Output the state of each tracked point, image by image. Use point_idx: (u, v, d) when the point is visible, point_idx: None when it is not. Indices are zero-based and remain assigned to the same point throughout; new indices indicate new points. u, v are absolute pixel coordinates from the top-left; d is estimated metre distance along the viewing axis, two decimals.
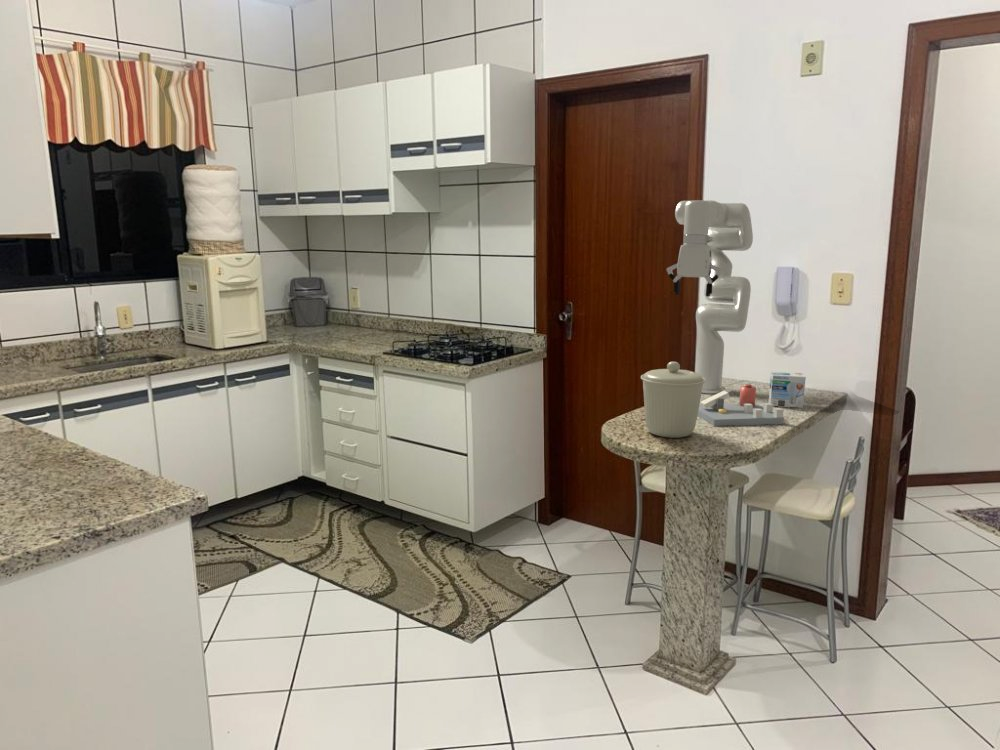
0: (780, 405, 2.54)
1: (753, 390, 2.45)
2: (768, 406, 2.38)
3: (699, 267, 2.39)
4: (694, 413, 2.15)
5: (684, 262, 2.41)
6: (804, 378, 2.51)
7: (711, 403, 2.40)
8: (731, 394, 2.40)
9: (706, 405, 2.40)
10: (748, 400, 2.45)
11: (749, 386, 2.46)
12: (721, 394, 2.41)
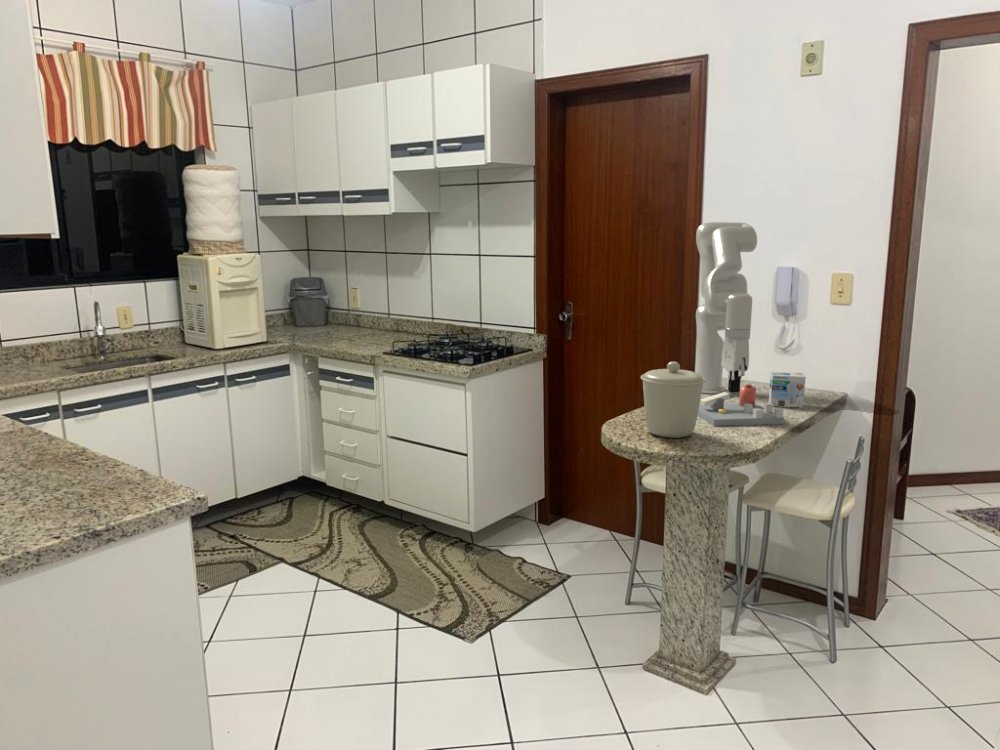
0: (780, 405, 2.54)
1: (753, 390, 2.45)
2: (768, 406, 2.38)
3: None
4: (694, 413, 2.15)
5: None
6: (804, 378, 2.51)
7: (711, 402, 2.40)
8: (731, 396, 2.41)
9: (705, 403, 2.40)
10: (748, 400, 2.45)
11: (749, 386, 2.46)
12: (722, 395, 2.41)
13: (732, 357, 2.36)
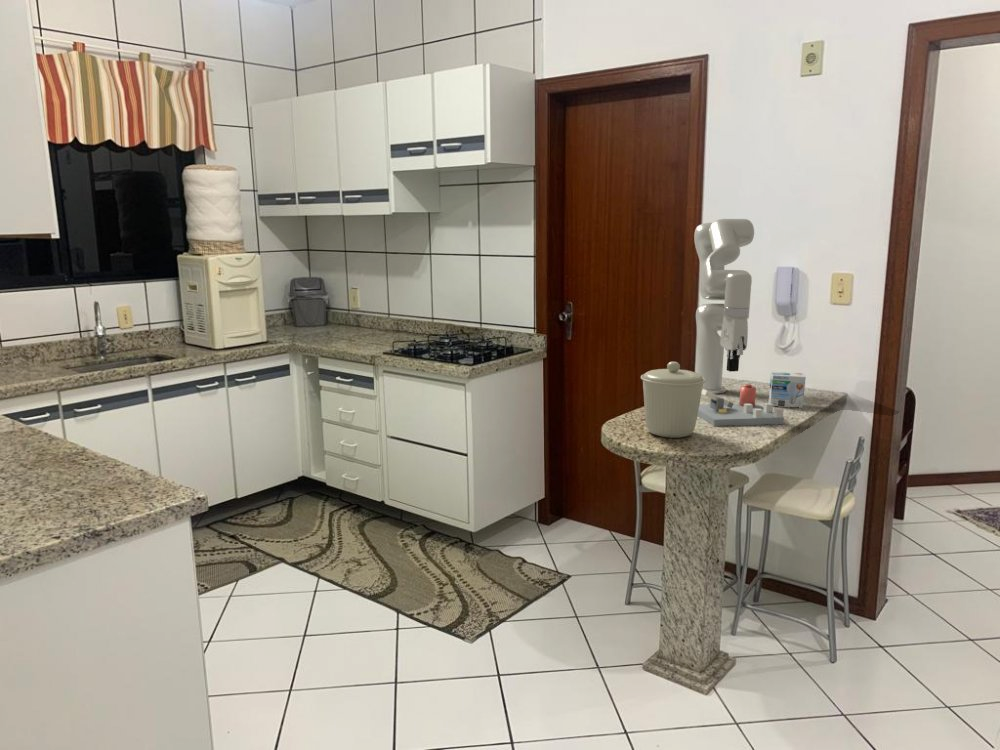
0: (780, 405, 2.54)
1: (753, 390, 2.45)
2: (768, 406, 2.38)
3: None
4: (694, 413, 2.15)
5: None
6: (804, 378, 2.51)
7: (711, 396, 2.40)
8: (730, 405, 2.41)
9: (707, 393, 2.39)
10: (748, 400, 2.45)
11: (749, 386, 2.46)
12: None
13: (730, 336, 2.35)
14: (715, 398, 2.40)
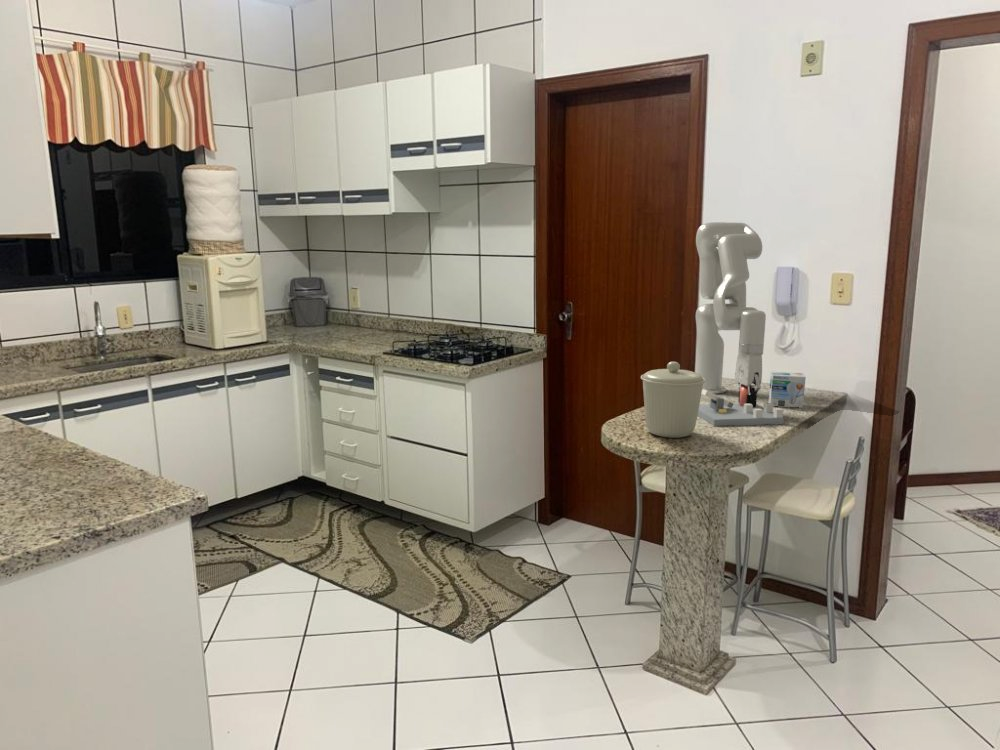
0: (780, 405, 2.54)
1: None
2: (768, 406, 2.38)
3: None
4: (694, 413, 2.15)
5: None
6: (804, 378, 2.51)
7: (712, 396, 2.40)
8: (730, 405, 2.41)
9: (707, 393, 2.39)
10: None
11: None
12: None
13: (745, 372, 2.42)
14: (715, 398, 2.40)
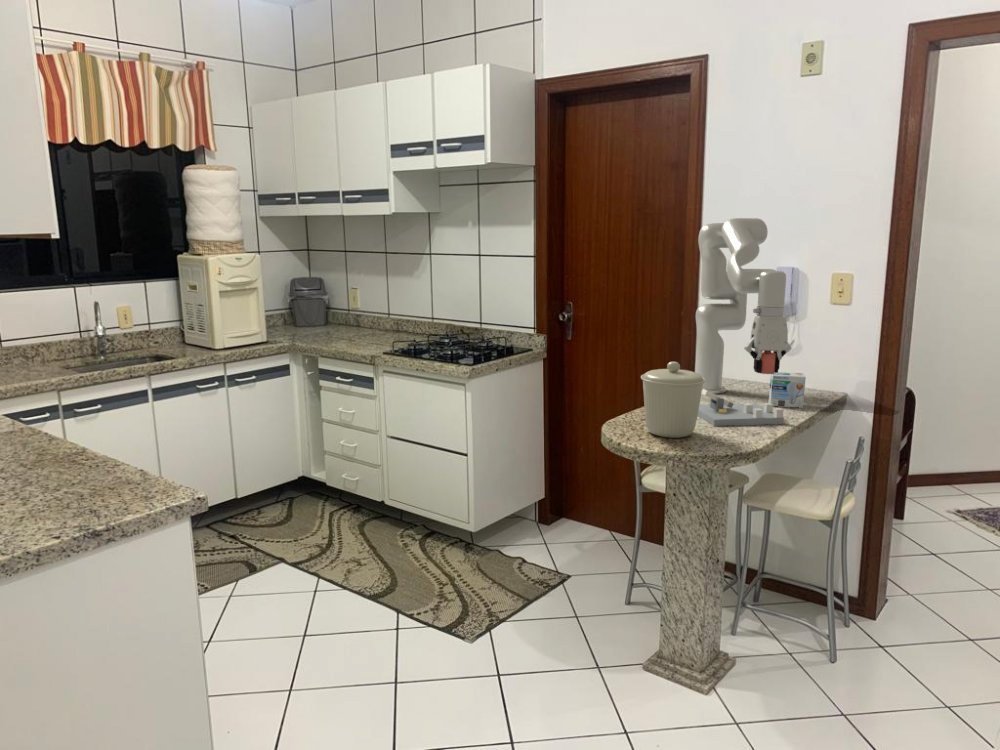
0: (780, 405, 2.54)
1: None
2: (768, 406, 2.38)
3: None
4: (694, 413, 2.15)
5: None
6: (804, 378, 2.51)
7: (712, 396, 2.40)
8: (730, 405, 2.41)
9: (707, 393, 2.39)
10: None
11: None
12: None
13: (783, 336, 2.29)
14: (715, 398, 2.40)
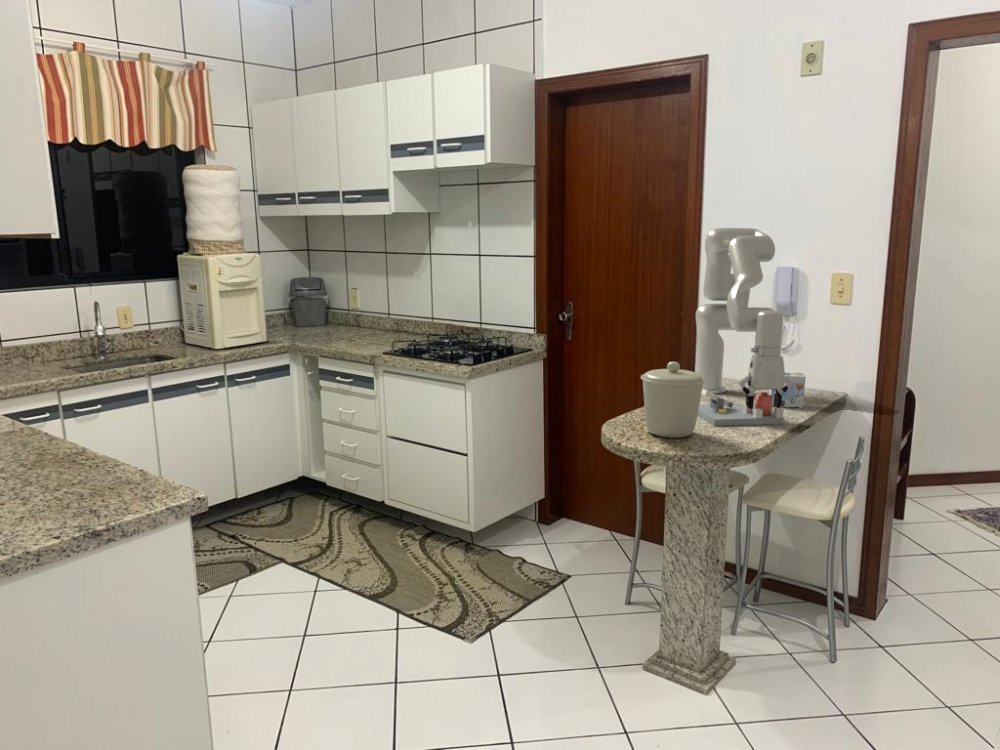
0: (780, 405, 2.54)
1: None
2: None
3: None
4: (694, 413, 2.15)
5: None
6: (804, 378, 2.51)
7: (712, 396, 2.40)
8: (730, 405, 2.41)
9: (707, 393, 2.39)
10: None
11: None
12: None
13: (780, 375, 2.31)
14: (715, 398, 2.40)
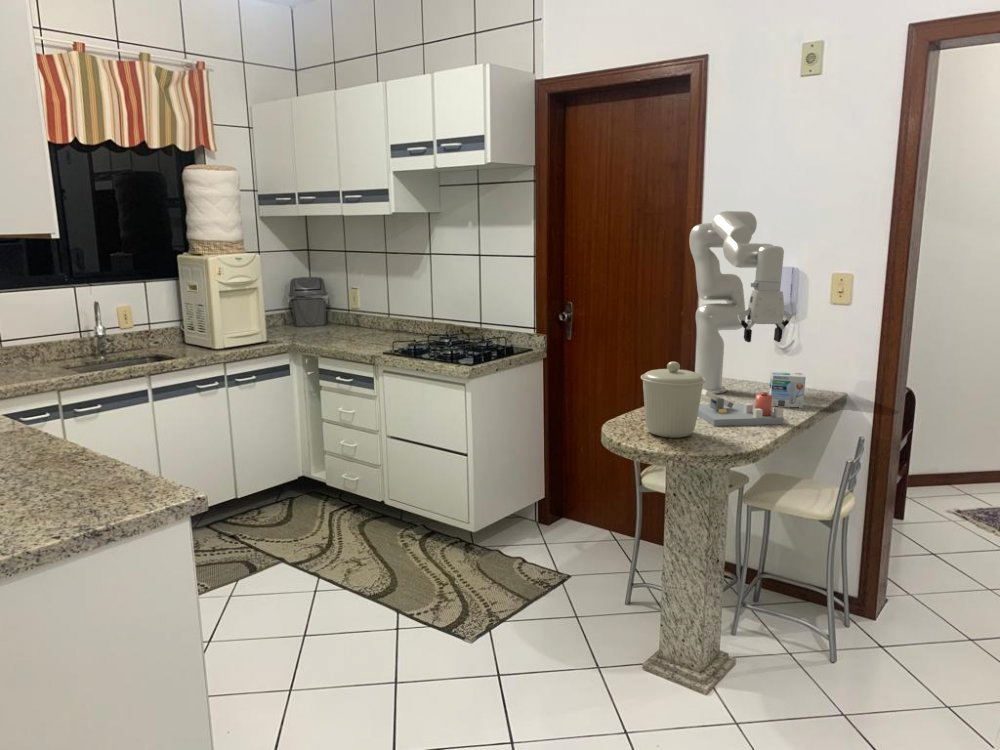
0: (780, 405, 2.54)
1: None
2: None
3: None
4: (694, 413, 2.15)
5: None
6: (804, 378, 2.51)
7: (712, 396, 2.40)
8: (730, 405, 2.41)
9: (707, 393, 2.39)
10: None
11: None
12: None
13: (779, 309, 2.35)
14: (715, 398, 2.40)
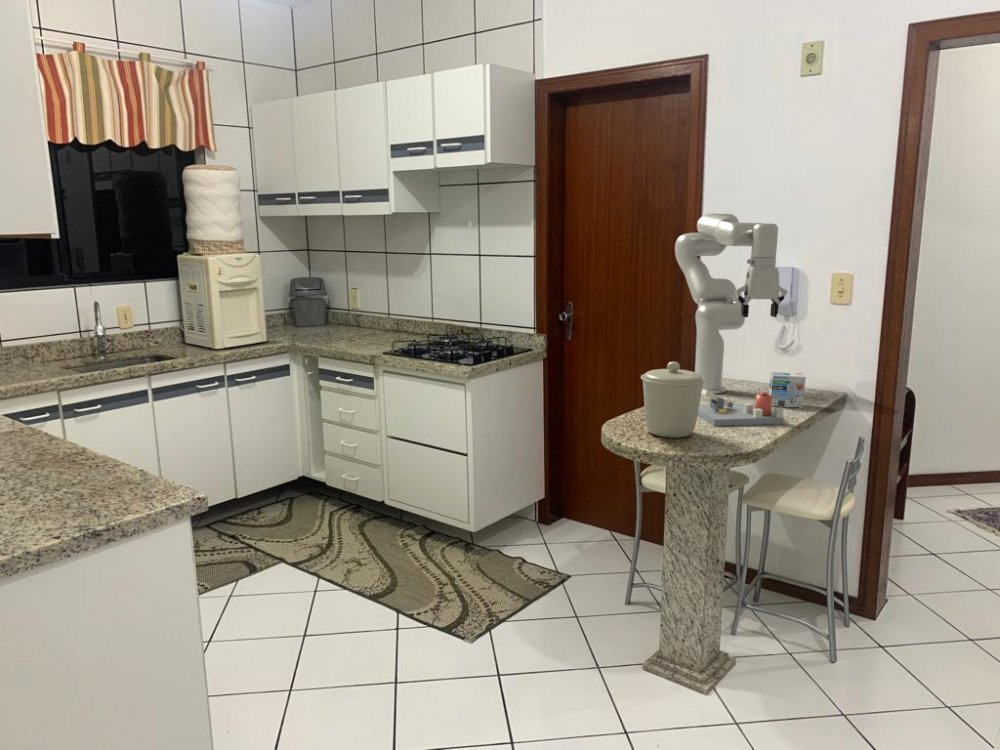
0: (780, 405, 2.54)
1: None
2: None
3: None
4: (694, 413, 2.15)
5: None
6: (804, 378, 2.51)
7: (712, 396, 2.40)
8: (730, 405, 2.41)
9: (707, 393, 2.39)
10: None
11: None
12: None
13: (775, 285, 2.43)
14: (715, 398, 2.40)
